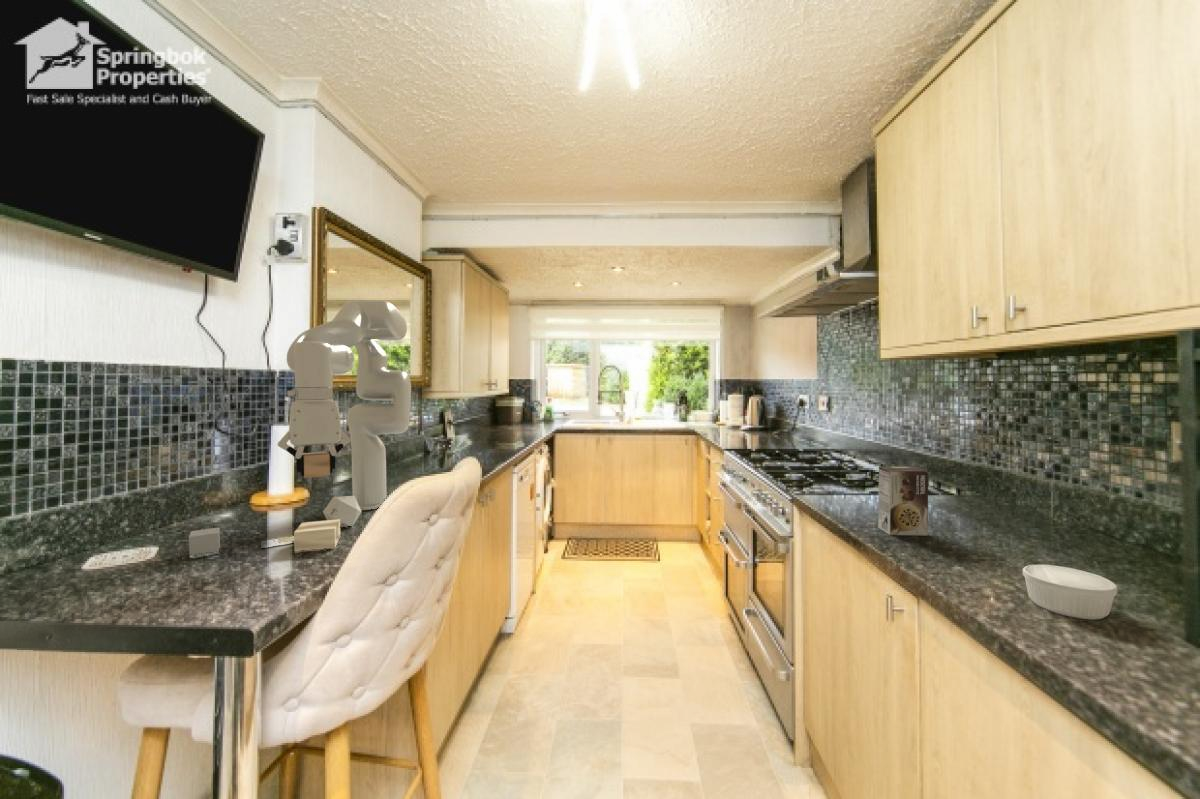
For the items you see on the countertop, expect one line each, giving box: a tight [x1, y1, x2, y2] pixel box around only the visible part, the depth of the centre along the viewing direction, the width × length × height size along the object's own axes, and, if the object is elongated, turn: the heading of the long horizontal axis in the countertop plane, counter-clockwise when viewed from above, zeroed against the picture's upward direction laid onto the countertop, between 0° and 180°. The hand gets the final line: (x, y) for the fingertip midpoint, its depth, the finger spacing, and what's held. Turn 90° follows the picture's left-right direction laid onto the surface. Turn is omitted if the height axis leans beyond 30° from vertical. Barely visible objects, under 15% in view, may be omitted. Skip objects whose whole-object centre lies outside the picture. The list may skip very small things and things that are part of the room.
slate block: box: [188, 526, 221, 555], centre depth 107 cm, size 5×5×5 cm
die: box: [322, 495, 363, 527], centre depth 127 cm, size 8×9×10 cm
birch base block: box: [293, 519, 341, 551], centre depth 112 cm, size 8×8×5 cm
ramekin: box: [1022, 564, 1119, 620], centre depth 80 cm, size 11×11×5 cm
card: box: [273, 535, 294, 543], centre depth 114 cm, size 6×8×1 cm
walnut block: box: [302, 451, 331, 479], centre depth 111 cm, size 5×5×5 cm
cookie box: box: [877, 466, 929, 536], centre depth 120 cm, size 9×6×16 cm
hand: (316, 472), depth 111 cm, fingers closed on walnut block, 4 cm apart
